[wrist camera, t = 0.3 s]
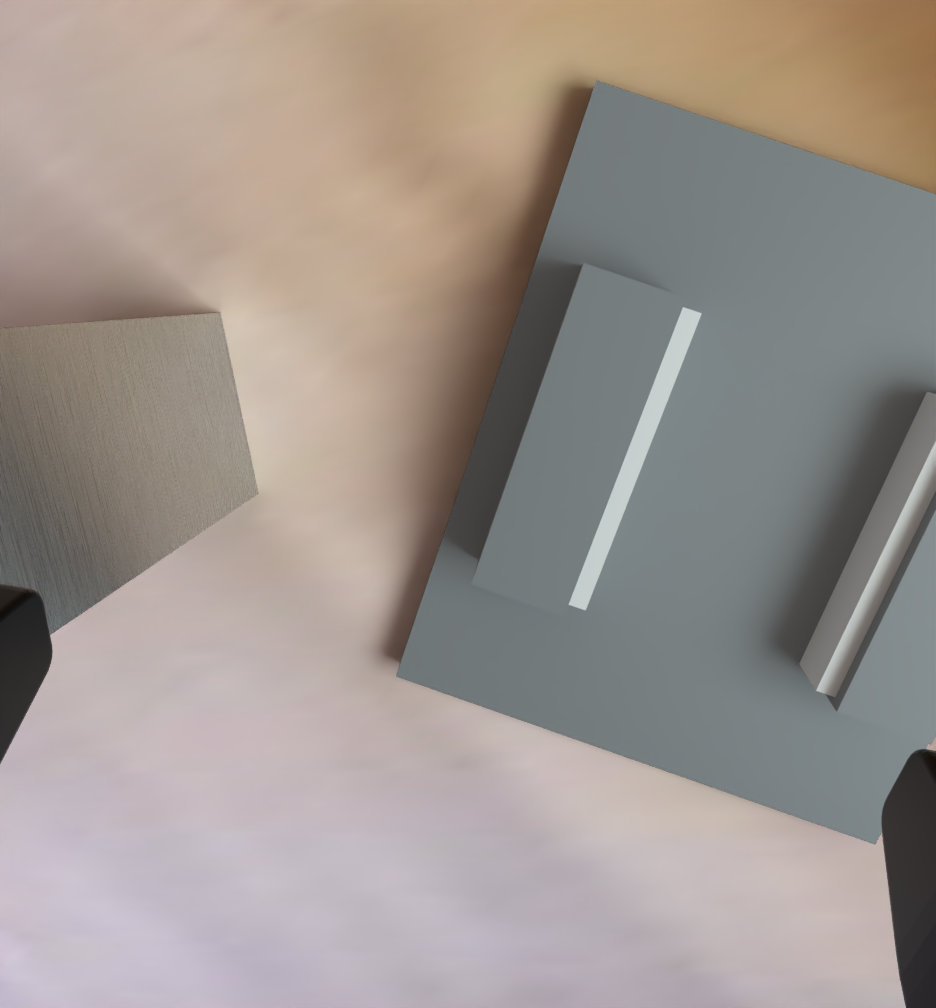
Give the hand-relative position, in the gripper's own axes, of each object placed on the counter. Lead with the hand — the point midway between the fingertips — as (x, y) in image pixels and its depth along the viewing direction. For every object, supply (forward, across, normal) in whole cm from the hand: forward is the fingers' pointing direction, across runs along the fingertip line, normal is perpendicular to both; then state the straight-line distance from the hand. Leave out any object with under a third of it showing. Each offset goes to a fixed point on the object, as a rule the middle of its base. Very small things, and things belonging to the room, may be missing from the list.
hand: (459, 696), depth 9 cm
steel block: (+14, +10, +5) cm, 18 cm away
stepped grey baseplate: (+14, -8, +5) cm, 17 cm away
